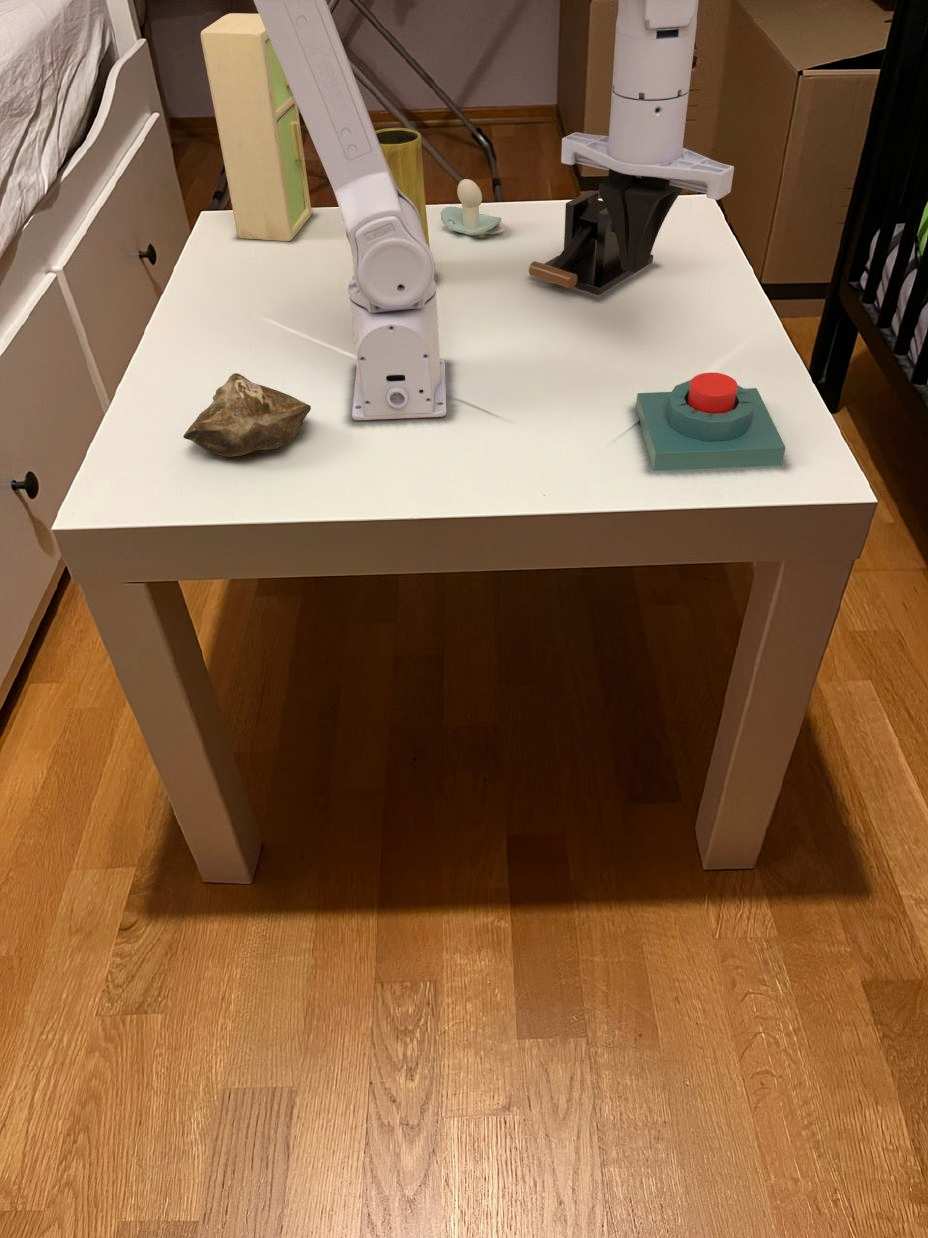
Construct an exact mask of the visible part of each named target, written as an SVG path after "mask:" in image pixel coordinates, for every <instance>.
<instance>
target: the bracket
mask: <svg viewBox="0 0 928 1238" xmlns="http://www.w3.org/2000/svg"><path fill="white" fill-rule="evenodd" d="M594 199H597V200H599V191H596V190H588V191H587V192H585V193H583V194H580V195H579V196H577V197H574V198H573V199H571V200H569V201H567V202H565V213H564V233H563V234H564V235H563V236H564V237H563V238H564V239H563V250H564V249H565V248H566V247H567V246H568V244H569V243H570V242H571V241H572V239H573V238H574V237H575V236H576V235H577V233H578V232H579V231H580V230H581V224H580V219H579V217H580V216H581V215H582V213H583V212H584V211H585V210H586V208H587V207H588V206H589V205H590V204H591V202H592V201H593V200H594ZM558 257H559V255H557V256H555V257H554V258H552V259H550V260H548V261H546V262H545V263H543V264H546V265H549V266H551V265H552V264H553V263H554V261H555V260H556V259H557V258H558ZM653 262H654V254H652V253H651V254H650V258H649V261H648V265H647V266H649V265H650V264H652V263H653ZM566 271H568V272H571V273H574V274H576V275H577V283H576V285H575V287H574V288H573V289H577V290H581V291H583V292H587V293H590V294H593V295H596V296H600V295H601V294H603V293H605V292H607V291H608V290H610V289H612V288H613V287H615V286H616V285H618V284H620V283H621V282H622V281H625V280H626V279H628V278H629V277H631V276H633V275H634V274H636V273H637V272H635V273H634V272H630V271H627V270H623V269H622V266H621V260H620V254H619V248H618V243H617V238H616V234H615V230H614V227H613V224H612V221H611V218H610V215H609V213H608V211H607V208H605V209H604V210H602V211H600V212H599V214H598V230H597V240H595V239H591V240H590V241H589V242H588V244H587V245H586V246H585V247H584V249H583V250H582V251H581V252H580V253H579V255H578V256H577V257H576V258H575V260H574V261H573V262H572V263H571V265H570V266H569V267H568V268H567V269H566Z"/></svg>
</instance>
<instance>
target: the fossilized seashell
mask: <svg viewBox="0 0 928 1238" xmlns="http://www.w3.org/2000/svg"><path fill="white" fill-rule="evenodd" d="M212 400H213V401H212V402H211V404H210V405H208V407H207V408H205V409H204V410H203V411H201V412H200V413H199V414H198V415H197V417H196V419H195V420H194V422H193V423H191V425H190V426H189V427H188V429H187V430H186V431H185V433H184V434H183V439H185V440H188V441H191V442H193V443H194V444H196V445H197V446H199V447H201V448H202V449H204V450H206V452H209V453H212V454H215V455H219V456H222V457H241V456H244V455H247V454H251V453H253V452H255V451H261V450H262V451H263V450H264V451H267V450H273V449H275V450H276V449H278V448H280V447H282V446H283V445H286V444H287V443H288V442H290V441H291V440H292V439H294V437H295V436H296V435H297V434H298V433H299V431H300V429H301V427H302V425H303V423H304V421H305V419H306V417H307V415H308V414H309V413H310V412H311V410H312V408H311V405H309V404H308V403H305V401H302V400H300V399H298V398H297V397H294V396H292V395H290V394H288V393H285V392H282V391H280V390H277V389H273V388H271V387H268V386H265V385H263V384H259V383H255V382H252V381H251V380H249V379H248V378H246V377H245V376H244V375H242V374H240V373H238V372H237V373H236V372H234V373H232V374H231V375H230V376H229V377H228V379H227V380H226V382H225V383H224V384H223V385H222V386H219V387H218V388H216V391H215V394H213V396H212Z"/></svg>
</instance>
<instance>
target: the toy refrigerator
mask: <svg viewBox="0 0 928 1238" xmlns="http://www.w3.org/2000/svg"><path fill="white" fill-rule="evenodd" d="M200 41H201V47H202V51H203V57H204V62H205V68H206V73H207V80H208V85H209V89H210V94H211V99H212V105H213V110H214V116H215V120H216V126H217V131H218V137H219V144H220V147H221V149H220V150H221V153H222V159H223V164H224V171H225V176H226V180H227V181H226V182H227V185H228V192H229V197H230V202H231V207H232V213H233V219H234V223H235V229H236V233H237V236H238V238H239V239H243V240H245V239H248V240H263V241H279V242H291V241H292V240H293V239H294V238H295V237H296V235H298V233H299V232H300V231H301V229H302V228H303V226H304V225H305V224H306V223H307V222H308V220H309V219H311V216H312V205H311V197H310V191H309V184H308V182H309V181H308V175H307V169H306V160H305V154H304V146H303V136H302V131H301V123H300V122H301V121H300V114H299V113H300V112H299V107H298V105H297V103H296V100H295V98H294V96H293V93H292V91H291V88H290V86H289V84H288V81H287V79H286V77H285V74H284V72H283V69H282V67H281V65H280V62H279V60H278V58H277V55H276V53H275V50H274V48H273V46H272V43H271V41H270V39H269V36H268V34H267V31H266V29H265V27H264V24H263V22H262V20H261V17H260V15H259V13H243V12H241V13H237V12H232V13H231V12H230V13H226V14H225V15H223V16H221V17H220V18H219V19H217V20H215V21H214V22H213V23H211V24H210V25H208V26H207V27H205V28H204V29H202V30H201V31H200Z"/></svg>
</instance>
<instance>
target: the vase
mask: <svg viewBox="0 0 928 1238" xmlns="http://www.w3.org/2000/svg"><path fill="white" fill-rule="evenodd" d="M375 133H376V136H377V138H378V141H379V144H380V146H381V149H382V152H383V154H384V157H385V159H386V161H387V164H388V166H389V168H390V171H391V173H392V176H393V179H394V181H395V183H396V185H397V187H398V188H399V190H400V191H401V192H402V193H403V194H404V195H405V196H406V197H408V198H409V199H410V200H411V201H412V202H413V204H414V205H415V206H416V208H417V210H418V212H419V215H420V218H421V225H422V231H423V234H424V237H425V240H426V243H427V245H428V247H429V249H430V250H431V248H430V246H431V245H430V237H429V229H428V216H427V204H426V194H425V192H426V191H425V180H424V179H425V178H424V164H423V163H424V162H423V148H422V147H423V146H422V145H423V143H422V135H421V133H420V132H419V131H417V130H414V129H413V128H406V127H388V128H387V127H386V128H381V129H378V130H375Z"/></svg>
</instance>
